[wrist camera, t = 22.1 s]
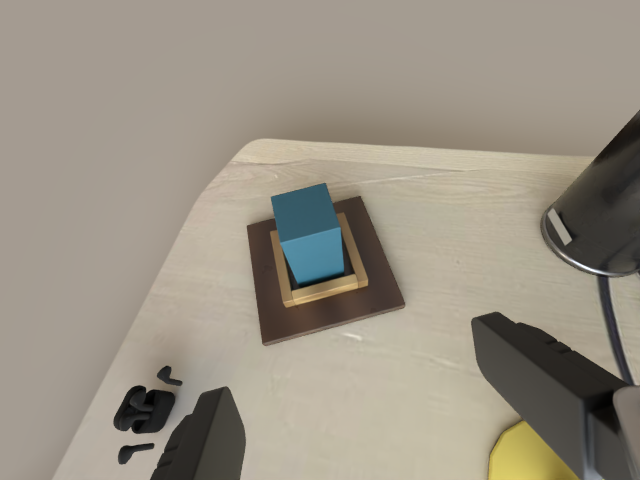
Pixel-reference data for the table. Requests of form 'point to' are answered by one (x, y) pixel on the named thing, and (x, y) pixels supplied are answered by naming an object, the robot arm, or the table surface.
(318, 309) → the square wooden socket base
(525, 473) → the candle
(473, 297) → the table surface
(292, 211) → the post block
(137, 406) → the wireless earbuds
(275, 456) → the table surface
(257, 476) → the table surface
